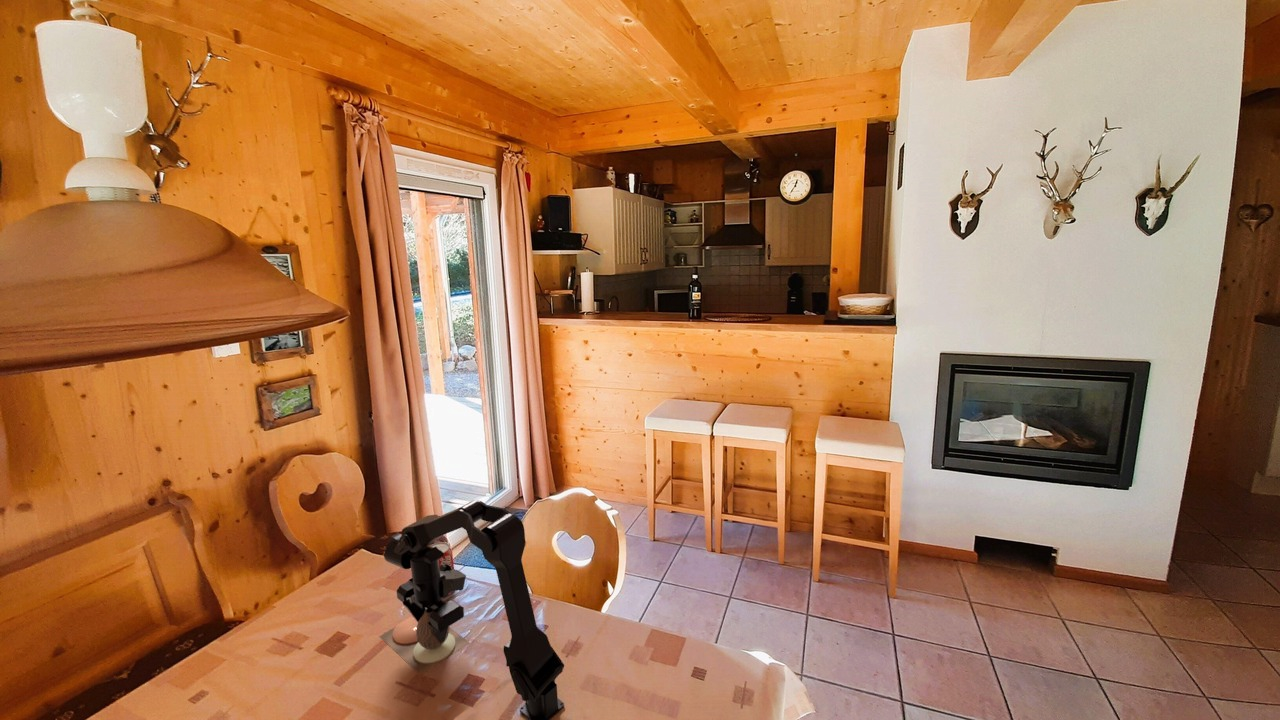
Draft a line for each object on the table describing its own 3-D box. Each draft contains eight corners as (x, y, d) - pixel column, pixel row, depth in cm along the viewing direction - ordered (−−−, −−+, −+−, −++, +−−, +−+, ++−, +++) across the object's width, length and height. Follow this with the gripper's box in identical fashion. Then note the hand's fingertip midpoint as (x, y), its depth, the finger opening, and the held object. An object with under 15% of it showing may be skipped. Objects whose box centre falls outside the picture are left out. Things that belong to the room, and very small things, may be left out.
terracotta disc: (440, 627, 126) (440, 625, 126) (404, 650, 119) (404, 647, 119) (421, 612, 131) (421, 610, 131) (385, 632, 125) (385, 630, 124)
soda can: (447, 601, 137) (442, 557, 134) (422, 598, 138) (417, 554, 136) (461, 585, 144) (457, 542, 141) (437, 582, 145) (433, 540, 142)
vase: (431, 630, 123) (427, 597, 121) (456, 635, 121) (452, 602, 119) (411, 651, 117) (406, 616, 115) (437, 657, 115) (433, 622, 113)
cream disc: (463, 645, 120) (463, 643, 120) (426, 670, 113) (426, 667, 113) (442, 629, 126) (441, 626, 125) (405, 651, 119) (405, 649, 119)
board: (469, 646, 121) (469, 642, 121) (421, 679, 112) (420, 675, 112) (426, 612, 133) (426, 609, 133) (379, 639, 124) (379, 636, 124)
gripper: (482, 570, 116) (487, 632, 119) (436, 543, 127) (443, 600, 130) (435, 596, 107) (443, 662, 110) (391, 565, 119) (399, 625, 122)
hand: (433, 634), depth 119 cm, fingers closed on vase, 7 cm apart
